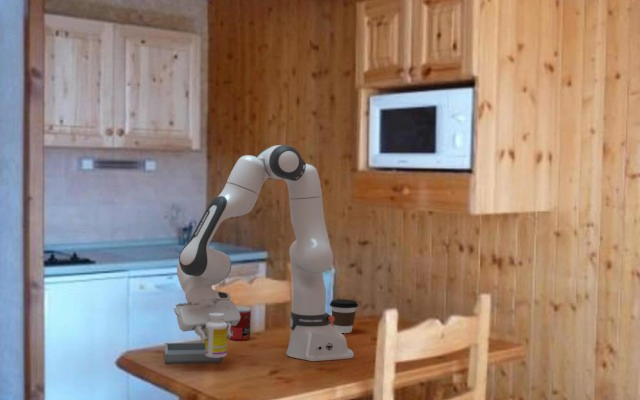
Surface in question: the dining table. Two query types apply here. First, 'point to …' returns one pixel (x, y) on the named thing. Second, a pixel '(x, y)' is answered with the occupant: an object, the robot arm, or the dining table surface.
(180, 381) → the dining table surface
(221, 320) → the supplement bottle
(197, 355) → the tray
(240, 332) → the canned food
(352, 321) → the coffee cup
